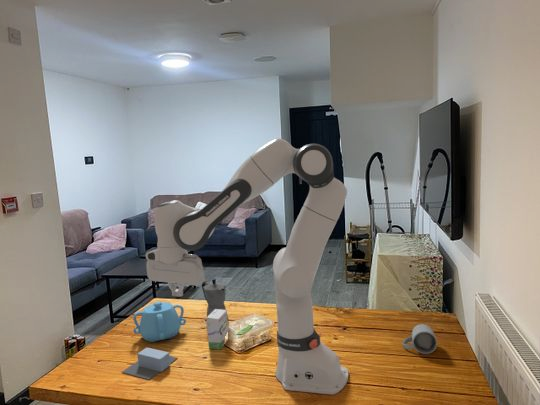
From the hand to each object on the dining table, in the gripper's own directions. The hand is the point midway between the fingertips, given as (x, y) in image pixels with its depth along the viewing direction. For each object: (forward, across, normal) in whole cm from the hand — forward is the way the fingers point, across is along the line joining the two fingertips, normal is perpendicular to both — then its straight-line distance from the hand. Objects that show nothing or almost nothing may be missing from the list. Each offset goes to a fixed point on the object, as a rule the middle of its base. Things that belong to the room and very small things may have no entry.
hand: (177, 295), depth 129 cm
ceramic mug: (+28, -66, -41) cm, 83 cm away
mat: (+26, +15, 0) cm, 30 cm away
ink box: (+27, +1, -21) cm, 34 cm away
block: (+24, +8, 0) cm, 25 cm away
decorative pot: (+27, +27, -19) cm, 42 cm away
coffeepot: (+27, +14, -38) cm, 49 cm away
